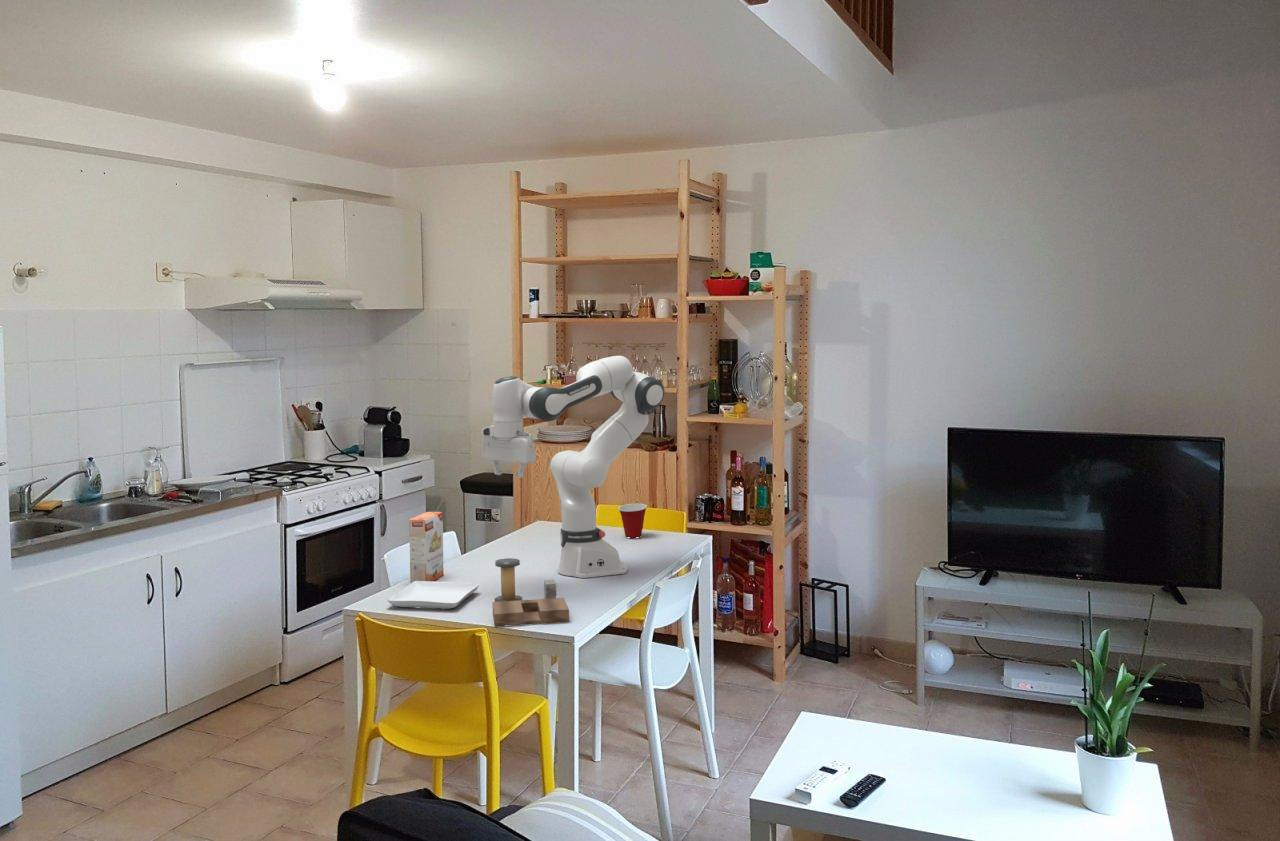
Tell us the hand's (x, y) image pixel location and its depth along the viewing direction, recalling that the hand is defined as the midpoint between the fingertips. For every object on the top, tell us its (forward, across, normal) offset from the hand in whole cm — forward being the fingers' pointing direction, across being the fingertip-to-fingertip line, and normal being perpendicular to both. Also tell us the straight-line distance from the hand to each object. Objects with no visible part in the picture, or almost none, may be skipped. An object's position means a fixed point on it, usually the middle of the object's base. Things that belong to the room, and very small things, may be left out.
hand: (508, 475), depth 313 cm
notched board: (+35, -28, +19) cm, 48 cm away
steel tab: (+35, -21, +4) cm, 41 cm away
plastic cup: (+35, +16, -78) cm, 86 cm away
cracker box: (+35, +28, +10) cm, 46 cm away
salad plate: (+35, +7, +24) cm, 43 cm away
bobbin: (+35, -12, +13) cm, 39 cm away
